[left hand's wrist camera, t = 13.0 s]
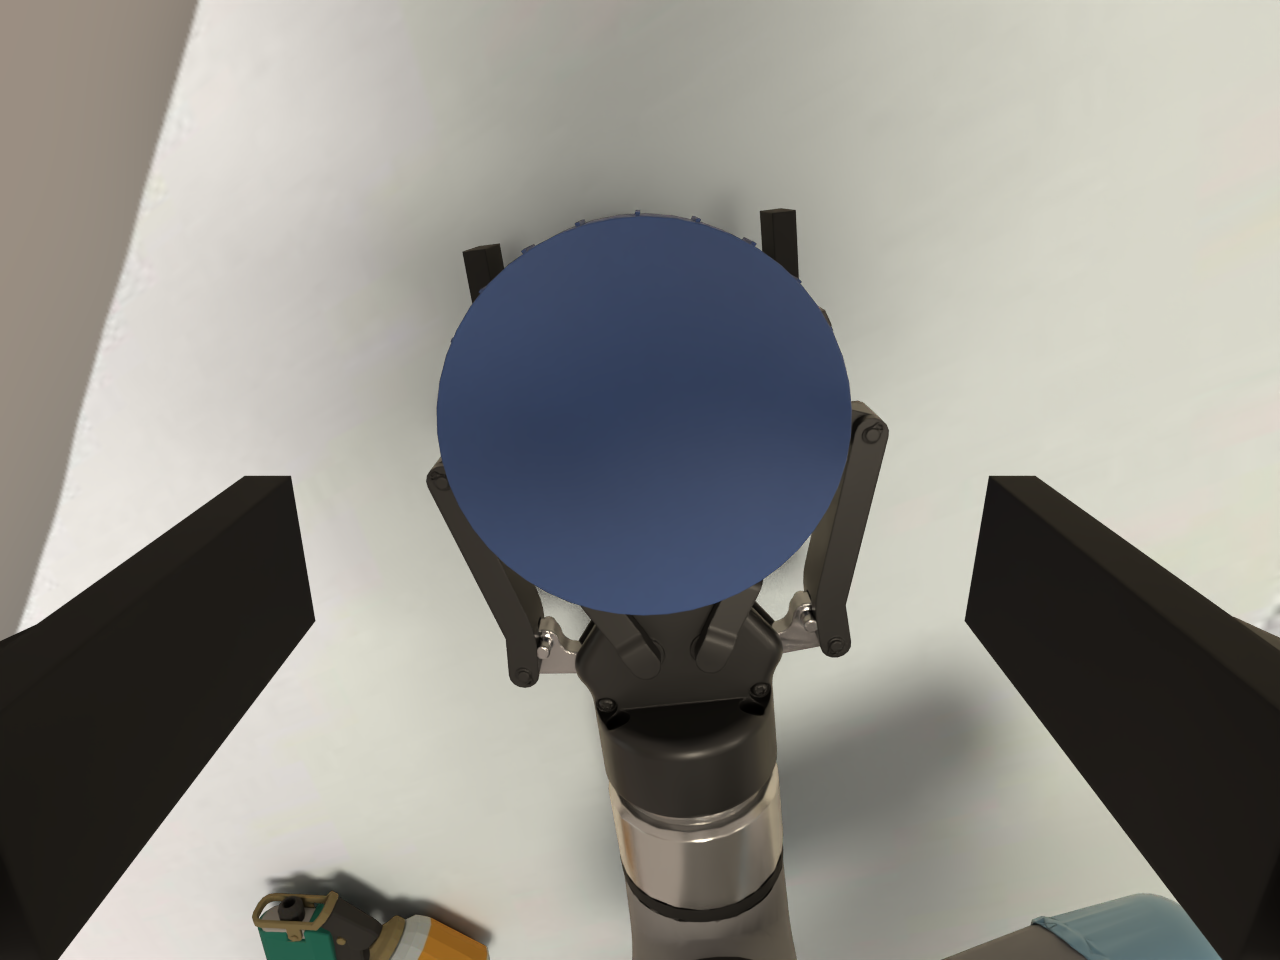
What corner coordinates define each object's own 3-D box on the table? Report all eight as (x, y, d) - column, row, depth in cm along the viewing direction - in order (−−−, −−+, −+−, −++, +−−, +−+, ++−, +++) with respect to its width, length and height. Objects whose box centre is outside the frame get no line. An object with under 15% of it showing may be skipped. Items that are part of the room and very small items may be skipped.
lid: (645, 115, 19) (646, 105, 16) (910, 410, 21) (941, 435, 19) (378, 408, 21) (347, 433, 19) (643, 639, 24) (643, 684, 22)
